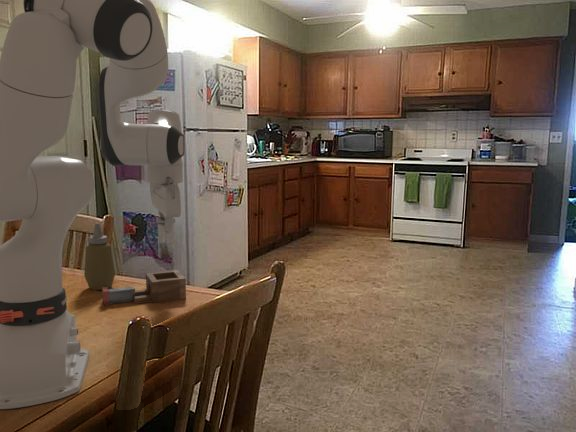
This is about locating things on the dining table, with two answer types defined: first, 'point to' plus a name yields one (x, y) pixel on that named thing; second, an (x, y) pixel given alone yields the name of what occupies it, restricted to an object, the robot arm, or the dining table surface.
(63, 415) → the dining table surface
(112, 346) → the dining table surface
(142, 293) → the box
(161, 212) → the robot arm
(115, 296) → the grey rectangular block
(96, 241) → the squeeze bottle
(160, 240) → the grey cylindrical piece
